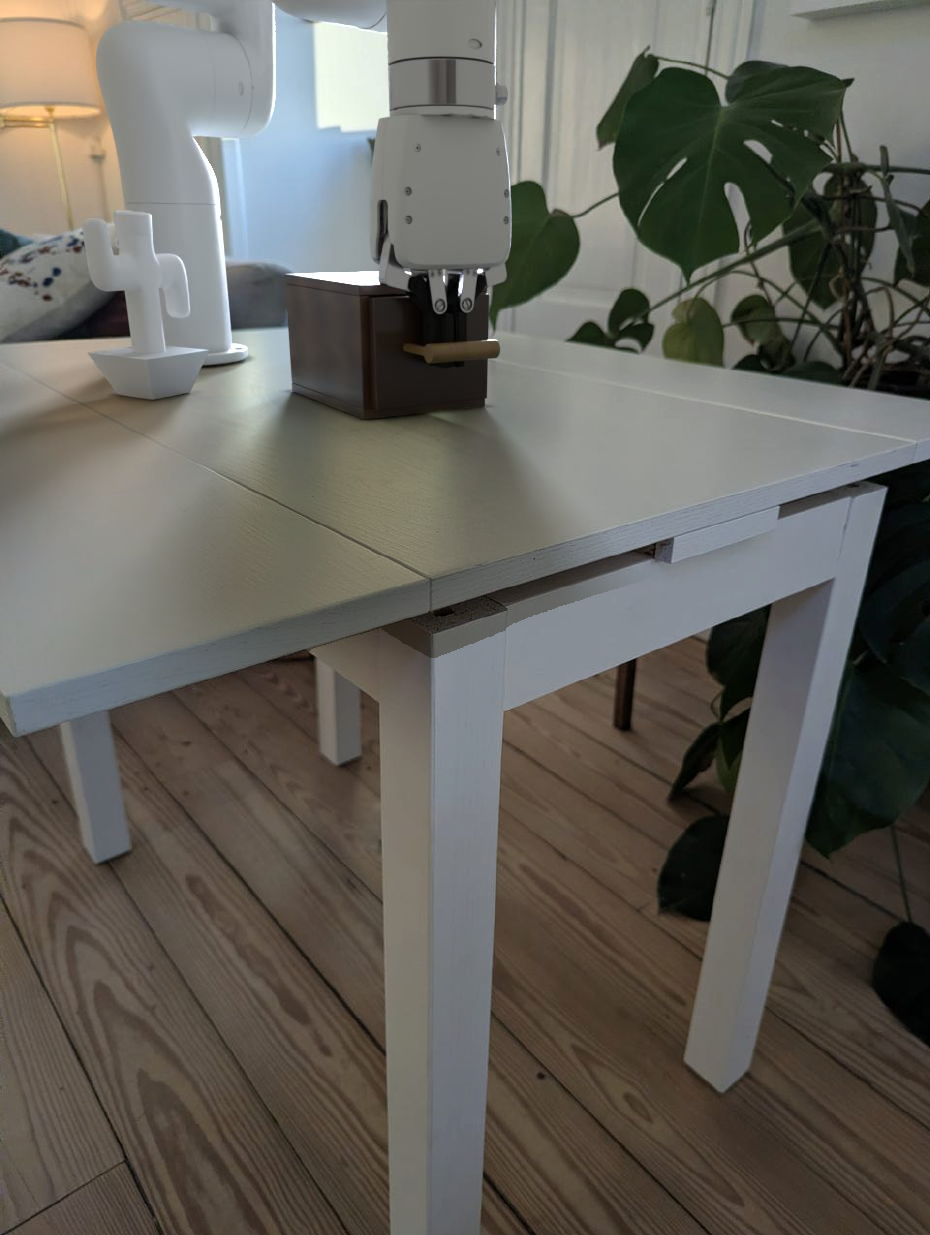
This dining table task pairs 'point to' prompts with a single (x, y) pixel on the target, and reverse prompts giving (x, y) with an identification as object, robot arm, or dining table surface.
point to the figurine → (141, 308)
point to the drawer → (424, 356)
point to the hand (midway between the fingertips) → (445, 365)
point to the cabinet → (339, 342)
